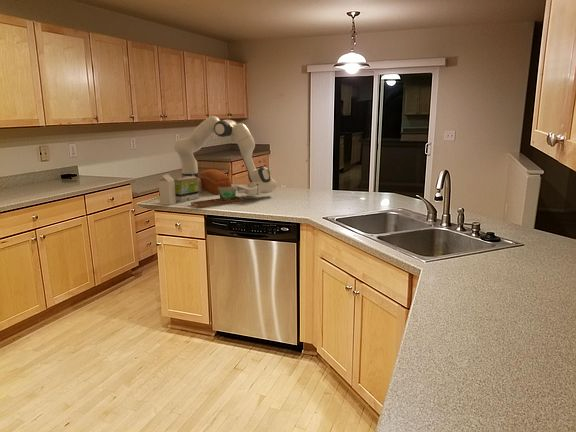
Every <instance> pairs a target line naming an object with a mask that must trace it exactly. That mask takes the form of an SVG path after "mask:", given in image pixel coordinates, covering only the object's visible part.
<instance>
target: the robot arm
mask: <svg viewBox="0 0 576 432" xmlns="http://www.w3.org/2000/svg"><path fill="white" fill-rule="evenodd" d="M214 135H216V136H218V137H222V138H224V137H230V136H232V137H233V138H234V140H235V141H236V143H237V146H238V148H239V151H240V155H241V159H242V162H243V164H244V166H245V169H246V171H247V177H248V181H249V183H248V184H245V183H243V184H235V185H234V187H235V186H236V187H237V189H236V192H237V193H238V194H246V195H248V196H261V194H270V193H273V192H274V191H275V190H277V189H276V188H277V182H276V180H275V179H274V178H273V177H272V175H271V172H270V170H269V168H267V166H260V167H258V168H256V165H255V163H254V160H253V151H254V150H255V147H256V143H255V139H254V136H253V135H252V134H251V131H250V130H249V128H248V127H247V125H245V123H242V122H240V123H238V122H237V121H236V120H234V119H223V120H220V118H219V117H218V116H216V115H211V116H209V117H207V118H206V119H204V120H203V121H201V122H200V124H198V125H197V126H196V127H195V128H193V132H192V134H190V136H188V137H183V138H179V139H178V140H175V142H174V144H173V149H174V151H175V152H176V153H177V155H178V157H179V160H180V164H181V176H180V177H187V176H192V177H198V183H199V194H200V193H202V192H205V191H204V189H202V185H201V180H200V179H199V173H200V172H199V169H198V168H199V167H198V160H197V159H196V158H195V155H194V153H197V152H199V150H201V149H202V147H203V145H204V144H205V143H206V141H208V140H209V139H210V138H211V137H212V136H214Z"/></svg>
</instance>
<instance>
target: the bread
mask: <svg viewBox="0 0 576 432" xmlns="http://www.w3.org/2000/svg"><path fill="white" fill-rule="evenodd" d="M198 173H199V179H200V180H201V185H202V189H204V191H203V192H208V193H211V194H213V195H220V194H219V190H218V186H219V187H233V186H232V183H231V182H232V181H231V178H230V177H229V175H228V174H225V172H222V171H221V170H217V169H212V168H210V169H206V170H202V171H201V172H198Z"/></svg>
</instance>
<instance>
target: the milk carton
mask: <svg viewBox="0 0 576 432" xmlns="http://www.w3.org/2000/svg"><path fill="white" fill-rule="evenodd" d="M158 191H159V202H160V205H162V206H172V205H175V204H176V203H177V201H176V195H175V182H174V179H173V177H172V176H171V175H170V173H166V174H163V175H162V176H161V178H159V180H158Z"/></svg>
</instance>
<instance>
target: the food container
mask: <svg viewBox="0 0 576 432" xmlns="http://www.w3.org/2000/svg"><path fill="white" fill-rule="evenodd" d="M236 189H237V187H236V186H235V185H234V186H232V187H219V186H218V190H219V194H218V195H219V198H220V200H221V202H222V201H229V200H236V199H235V196H237V195H236V194H237V193H236V192H237V190H236Z"/></svg>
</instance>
